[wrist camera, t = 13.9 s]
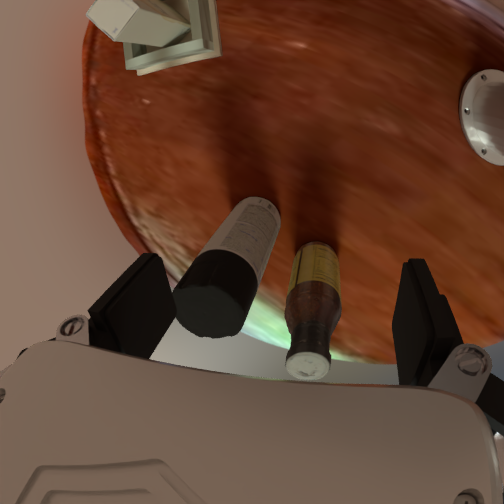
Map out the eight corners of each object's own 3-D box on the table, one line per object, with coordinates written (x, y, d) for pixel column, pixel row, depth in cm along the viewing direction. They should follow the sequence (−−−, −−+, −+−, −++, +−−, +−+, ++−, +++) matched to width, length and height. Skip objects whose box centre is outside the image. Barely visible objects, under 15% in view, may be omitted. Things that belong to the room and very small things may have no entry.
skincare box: (195, 26, 29) (143, 7, 19) (172, 50, 32) (114, 43, 21) (165, 2, 28) (108, -19, 18) (144, 26, 30) (83, 15, 20)
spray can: (227, 199, 41) (155, 284, 24) (275, 190, 39) (229, 277, 22) (241, 243, 44) (185, 343, 27) (287, 236, 42) (253, 343, 25)
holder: (213, -23, 26) (200, -34, 22) (222, 55, 32) (210, 52, 28) (133, 3, 29) (115, -2, 25) (140, 75, 35) (122, 75, 31)
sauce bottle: (312, 284, 45) (294, 396, 28) (285, 253, 43) (253, 361, 26) (349, 262, 41) (352, 376, 25) (323, 228, 40) (314, 335, 23)
